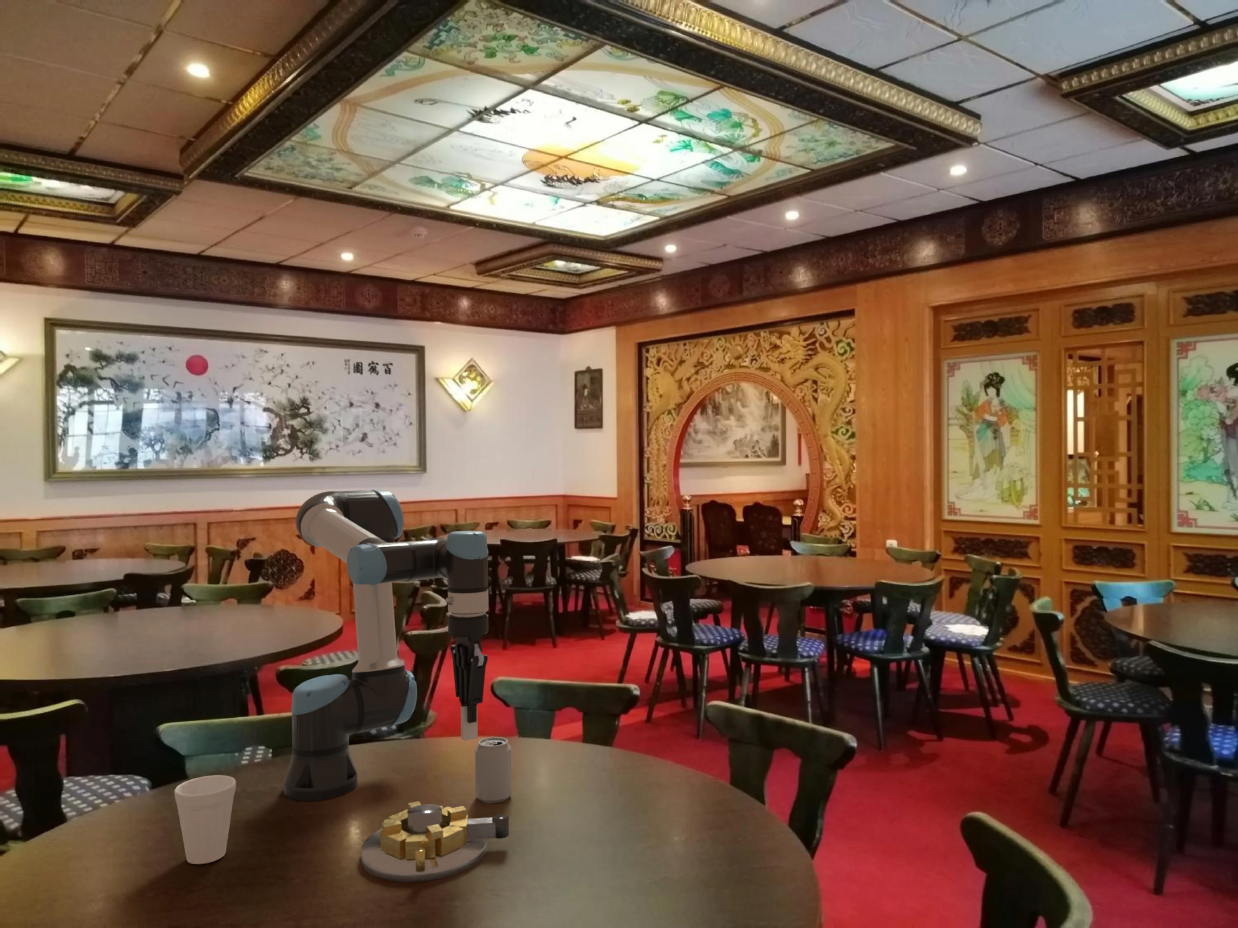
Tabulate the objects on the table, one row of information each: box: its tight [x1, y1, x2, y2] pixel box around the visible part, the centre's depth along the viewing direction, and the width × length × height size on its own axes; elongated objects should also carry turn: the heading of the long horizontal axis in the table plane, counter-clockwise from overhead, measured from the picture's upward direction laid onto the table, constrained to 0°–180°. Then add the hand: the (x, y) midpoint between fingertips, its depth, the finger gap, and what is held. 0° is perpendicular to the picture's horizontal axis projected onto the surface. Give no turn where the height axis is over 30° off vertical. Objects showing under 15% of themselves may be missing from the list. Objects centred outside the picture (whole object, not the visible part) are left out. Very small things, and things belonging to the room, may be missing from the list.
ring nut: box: [379, 800, 510, 859], centre depth 155 cm, size 22×15×4 cm, turn 97°
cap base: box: [361, 803, 488, 883], centre depth 155 cm, size 22×22×8 cm
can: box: [474, 736, 513, 804], centre depth 180 cm, size 8×8×12 cm
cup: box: [173, 774, 237, 865], centre depth 153 cm, size 10×10×13 cm
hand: (469, 738), depth 162 cm, fingers closed
